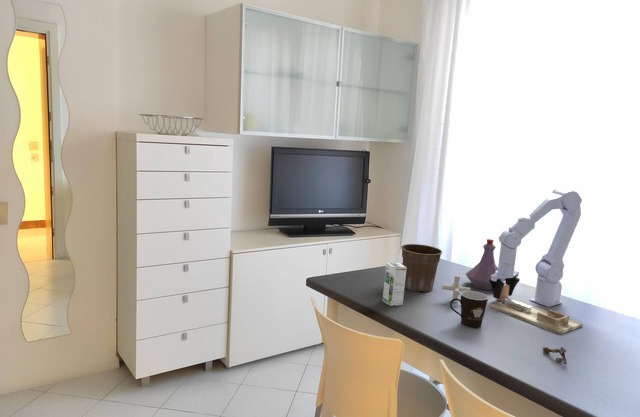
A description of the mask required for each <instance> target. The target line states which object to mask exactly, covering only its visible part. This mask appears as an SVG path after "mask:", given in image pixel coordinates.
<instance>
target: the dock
mask: <svg viewBox="0 0 640 417" xmlns="http://www.w3.org/2000/svg"><path fill="white" fill-rule="evenodd" d="M511 299H512V300H515V301H517V302H520V303H523V304H526V305H528V306H531V307H532V308H531V312H530V313H526V312H524V311H522V309H520V308H517V307H515V306H512V305H510V304H506V305H505V304H502V302H501V301H499V302H496V303H492V304H490V308H491V309H494V310H497V311H499V312H502V313H503V314H504V313H505V314H507V315H509V316H512V317H514V318H517V319H519V320H522V321H524V322H527V323H529V324H531V325H534V326H537V327H540V328H542V329H543V330H544V329H545V330H547V331H550V332H552V333H555V334H557V335H562V334H565V333H568V332H571V331H574V330H577V329H579V328H581V327H583V323H581V322H579V321H576V320H572V319H570V315H567V314H564V313H561V312H558V311H555V310H552V309H551V308H550V309H549V308H548V309H547V310H545V309H543V308H540V307H538V306H535V305H532V304H529V303H526V302H523V301H521V300H518V299H515V298H511Z"/></svg>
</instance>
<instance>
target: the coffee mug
mask: <svg viewBox="0 0 640 417" xmlns="http://www.w3.org/2000/svg"><path fill="white" fill-rule="evenodd" d="M455 300H457V302H458V301H459V303H460V312H459V311H457V310H455V309H454V307H453V306H452V304H453V303H454V302H453V301H455ZM488 301H489V296H488V295H487V294H485V293H482V292H479V291H474V290H470V291H463V292H460V298H459V297H458V298H455V299H451V300H450V301H449V307H450V308H451V310H452V311H453V312H454V313H456V314H457V315H458V316H460V323H461V325H462V326H464V327H467V328H470V329H480V328H481V327H482V324H483V320H484V317H485V313H486V309H487V305H488Z"/></svg>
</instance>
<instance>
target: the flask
mask: <svg viewBox="0 0 640 417" xmlns="http://www.w3.org/2000/svg"><path fill="white" fill-rule="evenodd" d="M482 247H483V254H482V256H481V259H480V261H479V262H478V263H477V264H476V265H475V266H474V267H473V268H471V269H469V271H468V272H466V273H465V276H466V277H467V279H468V280H469V281H470V283H471V284H472V285H473V286H474V287H475V288H477V289H481V290H485V291H493V290H492V286H491V284H490V282H489V279H490V278H491V275H494V274H495V271H498V265H497V264H496V261H495V255H494V253H495V252H494V251H495V249H496V245H494V240H493V239H489V238H488V239H486V243H485V244H483V245H482ZM500 281H501V282H503V283H505V279H501V280H500Z"/></svg>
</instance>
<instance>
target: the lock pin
mask: <svg viewBox="0 0 640 417" xmlns="http://www.w3.org/2000/svg"><path fill="white" fill-rule="evenodd" d="M512 299H513V298H509V297H508V298H507V297H504V298H502V304H505V305H506V304H510V305H512V306H515V307H517V308H520V309H522V311H524V312H526V313H530V312H531V308H532V307H531V306H528V305H526V304H527V303H526V304H523V303H520V302H517V301H515V300H516V299H515V300H512Z"/></svg>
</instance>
